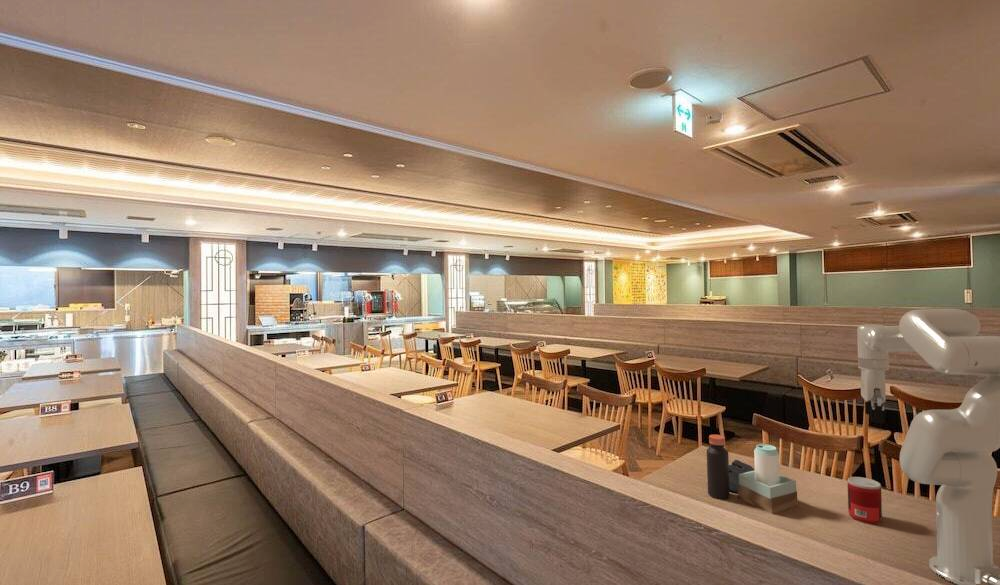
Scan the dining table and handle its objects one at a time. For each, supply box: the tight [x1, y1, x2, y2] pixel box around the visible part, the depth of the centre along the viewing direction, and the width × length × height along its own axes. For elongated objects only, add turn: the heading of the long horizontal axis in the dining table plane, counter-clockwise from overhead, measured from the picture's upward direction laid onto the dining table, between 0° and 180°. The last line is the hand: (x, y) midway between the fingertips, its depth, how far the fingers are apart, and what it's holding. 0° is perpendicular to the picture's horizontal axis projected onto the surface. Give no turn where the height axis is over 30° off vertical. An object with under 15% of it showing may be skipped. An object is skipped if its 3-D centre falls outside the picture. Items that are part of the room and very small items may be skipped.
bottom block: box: [737, 485, 798, 515], centre depth 152 cm, size 12×12×5 cm
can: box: [753, 443, 780, 486], centre depth 152 cm, size 7×7×12 cm
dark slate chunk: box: [729, 459, 755, 494], centre depth 168 cm, size 15×22×5 cm
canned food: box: [847, 476, 883, 525], centre depth 139 cm, size 8×8×11 cm
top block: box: [739, 469, 797, 499], centre depth 152 cm, size 12×12×4 cm
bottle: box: [706, 434, 731, 500], centre depth 158 cm, size 7×7×20 cm
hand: (874, 418), depth 145 cm, fingers open, 9 cm apart
